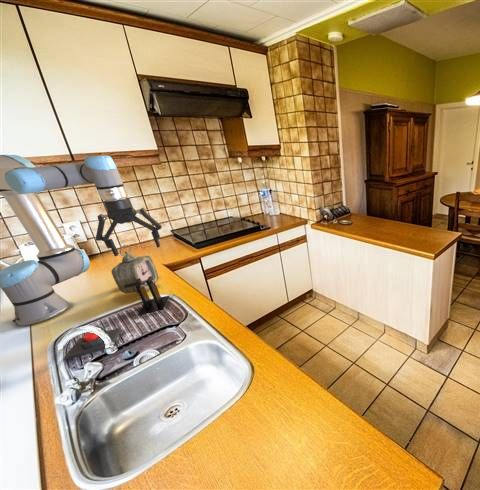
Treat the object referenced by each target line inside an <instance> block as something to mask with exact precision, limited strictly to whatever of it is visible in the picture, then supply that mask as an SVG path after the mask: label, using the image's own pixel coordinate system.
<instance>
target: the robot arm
mask: <svg viewBox="0 0 480 490" xmlns="http://www.w3.org/2000/svg"><path fill="white" fill-rule="evenodd" d="M85 185H94V186H95V188H96V190H97V193H98V195H99V197H100V199H101V200H102V201H103V205H104V207H105V210H106V212H107V214H103V213H100V214H98V215H97V220H98V224H97V229H96V235H95V241H97V242H98V241H99V242H100V241H101V242H104V244H105V247H106V249H110V250H111V252H112V254H113V256H114V257H118V256H119V254H120V252H119V251H118V249H117V247H116V244H115V242H114V241H113V238H110V237H111V236H112V233H113V232H114V230H115V229H116V227H117V226H118V224H120V225H124V224H129V223H132V222H134V223H136V224H138V225H140V226H142V227H144V228H146V229H148V230H150V231H151V235H152V236H151V237H152V238H153V241H154V243H155V247H156V248H160V246H161V243H160V242H159V239H160V238H161V235H160V232H159V230H161V229H162V228H163V226H162V225H161V223H159V222H158V221H157V220H156V219H155V218H154V217H152V216H151V215H150V214H149V213H148V212H147V211H146V209H145V208H144V207H141V208H138V209H135V208H134V206H133V204H132V201H131V199H130V198H129V194H128V191H127V190H126V187H125V186H124V183H123V180H122V178H121V174H120V173H119V170H118V167H117V165H116V164H115V162H114V160H113V157H111V156H110V155H96V156H95V155H94V156H84V158H83V162H71V163H65V164H55V165H47V166H36V165H35V164H34V163H32V162H31V161H30V160H28V159H26V158H25V157H24V156H21V155H17V154H0V196H1V197H3V198H4V199H5V201H6V202H7V204H8V206H9V207H10V208H11V210H12V211H13V213H14V214H15V216H16V218H17V220H18V221H19V222H20V224H21V225H22V227H23V228H24V230H25V232H26V233H27V234H28V236H29V238H30V239H31V241H32V242H33V244H34V245H35V247H36V248H37V250H38V253H37V254H36V258H37V260H38V261H37V260H35V259H29V260H23V261H20V262H16V263H13V264H11V265H9V266H6V267H4V268H2V269H1V270H0V289H1V291H2V292H3V293H4V294H5V296H6V297H7V299H8V300H9V301H10V303H11V304H12V306H13V307H14V308H13V309H14V310H13V311H14V319H12V320H11V322H13V323H16V324H17V325H18V326H21V327H25V326H33V325H37V324H40V323H43V322H46V321H49V320H51V319H55V318H57V317H58V316H60V315H62V314H64V313H65V312H67V311H68V310H69V309H70V307H71V304H70V303H69V301H68V300H67V299H65V298H64V297H62V296H61V295H60V294H58V293H57V292H56V291H55V289H54V287H53V286H56V285H58V284H60V283H63V282H65V281H68V280H70V279H73V278H75V277H79V276H80V275H82V274H83V273H86V272H87V271H88V270H89V269H90V266H91V261H90V258H89V255H88V254H87V253H86V252H84V250H82V249H80V248H76V247H75V246H74V245H72V244H69V243H68V242H67V241H66V239H65V238H64V236H63V234H62V233H61V231H60V230H59V228H58V226H57V225H56V223H55V221H54V219H53V217H52V216H51V213H49V211H48V210H47V208H46V206H45V204H44V203H43V201H42V199H41V198H40V196H39V194H38V193H40V192H46V191H52V190H59V189H66V188H72V187H78V186H85ZM137 214H139V215H140V216H142V217H143V218H144V219H146V220H147V221H148V222H149V223H148V222H146V221H144V220H143V219H141V218H140V217H138V216H137ZM108 219H110V220H112V222H111V224H110V226H109V227H108V230H107V231H106V233H105V234H104V228H105V224H106V221H107V220H108ZM103 234H104V236H103Z"/></svg>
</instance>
